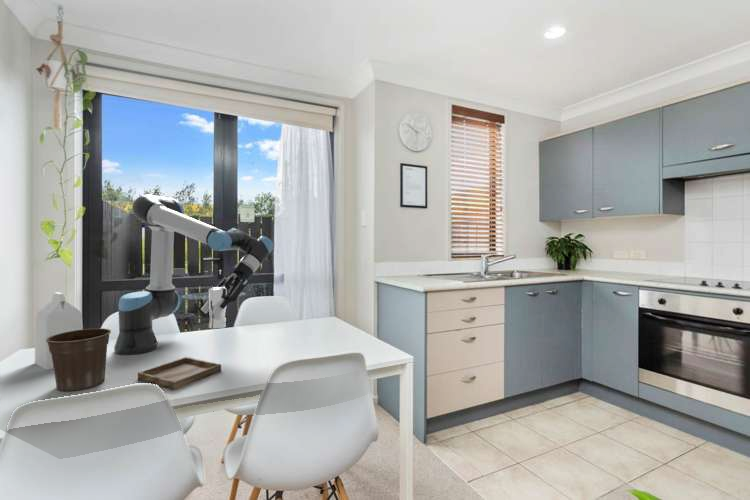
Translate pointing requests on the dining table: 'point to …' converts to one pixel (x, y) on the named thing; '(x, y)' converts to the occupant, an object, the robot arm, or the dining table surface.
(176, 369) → the walnut tray
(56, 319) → the milk
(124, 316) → the robot arm
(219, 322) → the beer glass
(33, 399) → the dining table surface
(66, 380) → the plant pot
